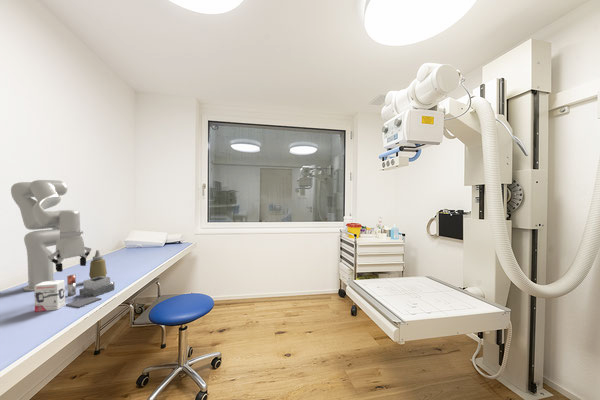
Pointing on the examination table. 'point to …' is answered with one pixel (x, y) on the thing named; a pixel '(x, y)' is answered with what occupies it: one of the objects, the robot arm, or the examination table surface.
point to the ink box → (49, 295)
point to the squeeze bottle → (97, 266)
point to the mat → (83, 301)
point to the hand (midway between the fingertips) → (71, 268)
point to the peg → (71, 285)
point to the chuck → (96, 286)
